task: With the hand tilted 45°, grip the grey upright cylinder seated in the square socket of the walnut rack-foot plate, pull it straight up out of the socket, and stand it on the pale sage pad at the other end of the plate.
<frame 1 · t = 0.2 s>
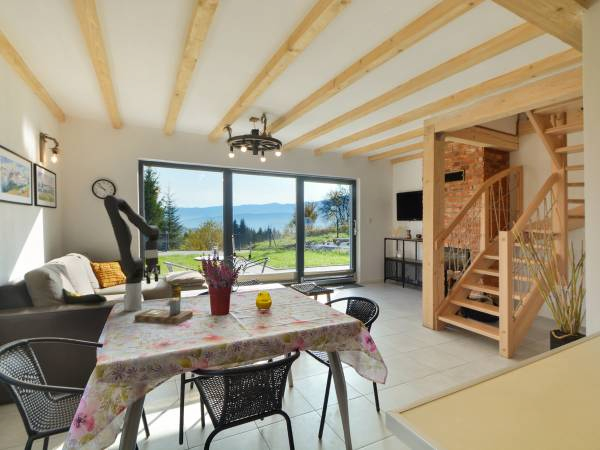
hand: (152, 282, 201), 18 cm above the table, tool pointing down, fingers open, 8 cm apart
condiment: (174, 301, 225), on the table
grey upright cylinder: (175, 319, 184), resting in rack foot plate
rack foot plate: (164, 318, 185), on the table
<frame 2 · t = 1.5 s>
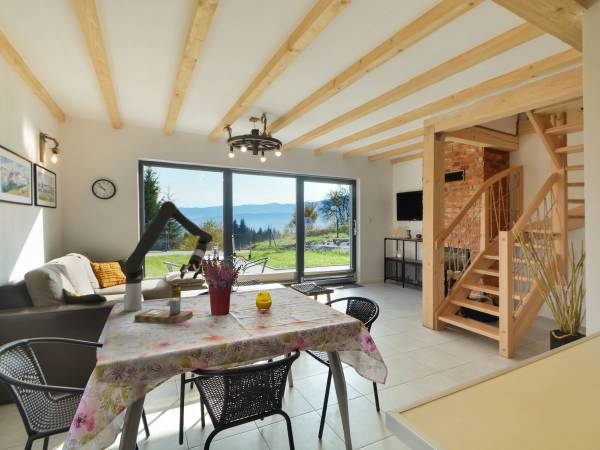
hand: (187, 278, 197), 21 cm above the table, tool tilted 45°, fingers open, 8 cm apart
nothing on the table moved.
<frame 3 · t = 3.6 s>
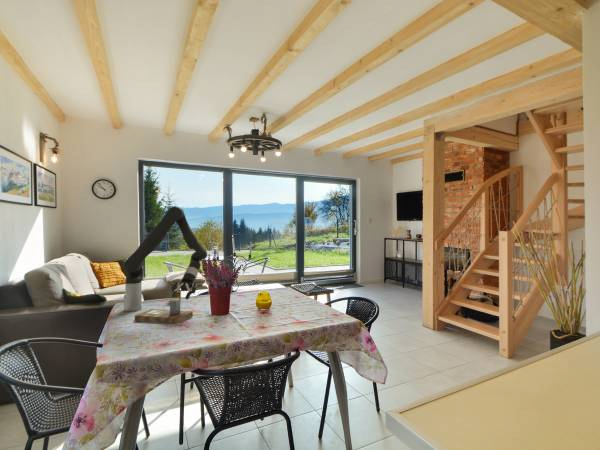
hand: (180, 298, 188), 11 cm above the table, tool tilted 45°, fingers open, 8 cm apart
nothing on the table moved.
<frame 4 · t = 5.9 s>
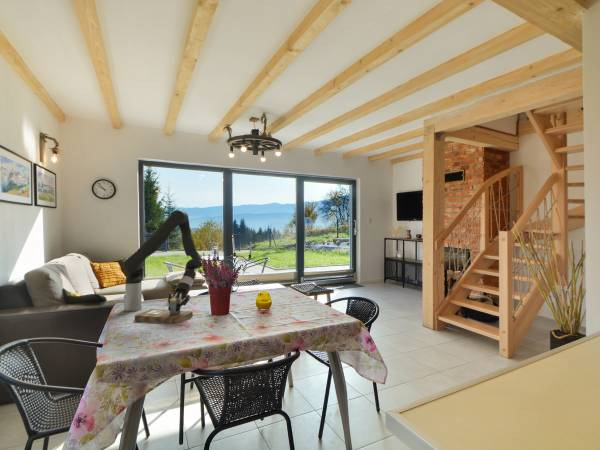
hand: (173, 310, 182), 6 cm above the table, tool tilted 45°, fingers closed on grey upright cylinder, 4 cm apart
grey upright cylinder: (175, 319, 184), resting in rack foot plate, touching gripper
everything else where it was.
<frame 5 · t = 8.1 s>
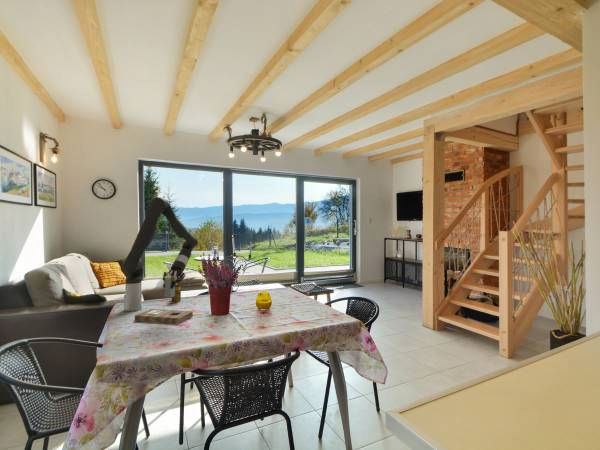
hand: (167, 287, 182), 19 cm above the table, tool tilted 45°, fingers closed on grey upright cylinder, 4 cm apart
grey upright cylinder: (169, 296, 184), point 13 cm above the table, touching gripper
everything else where it was.
when the fingers open (10 cm above the table, at t = 10.7 s): grey upright cylinder drops 1 cm, resting on rack foot plate.
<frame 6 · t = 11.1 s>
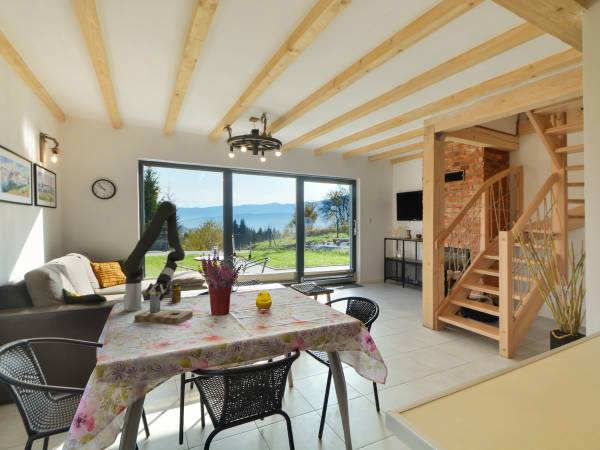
hand: (153, 299, 185), 11 cm above the table, tool tilted 45°, fingers open, 8 cm apart
grey upright cylinder: (155, 312, 186), point 3 cm above the table, touching rack foot plate
everything else where it was.
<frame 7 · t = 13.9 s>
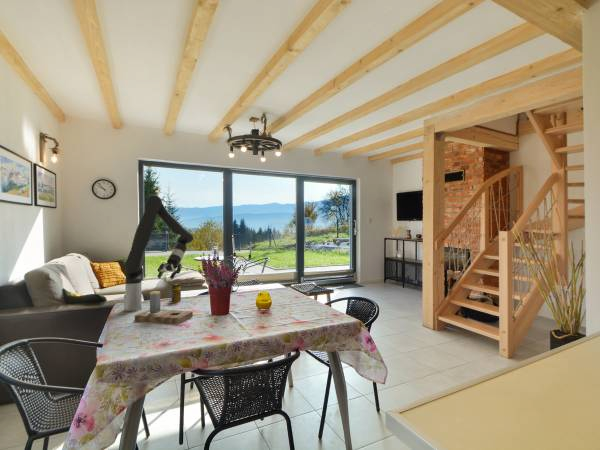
hand: (164, 278, 195), 22 cm above the table, tool tilted 45°, fingers open, 8 cm apart
nothing on the table moved.
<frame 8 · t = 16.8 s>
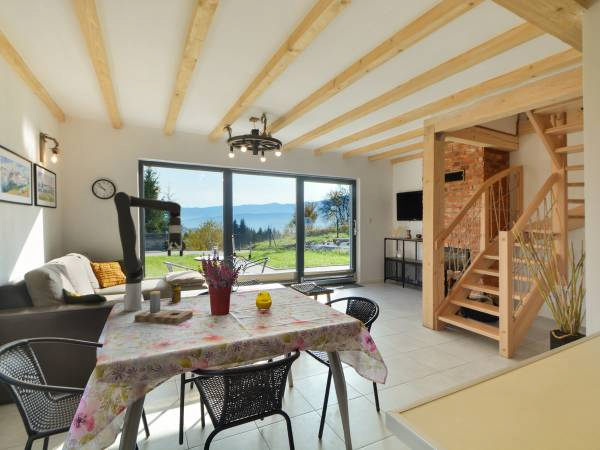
hand: (175, 256, 215), 33 cm above the table, tool pointing down, fingers open, 8 cm apart
nothing on the table moved.
at the end: grey upright cylinder 0.1 cm from the target spot on the rack foot plate, point 3.3 cm above the rack foot plate's base; grey upright cylinder tilted 0°; the gripper is holding nothing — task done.
